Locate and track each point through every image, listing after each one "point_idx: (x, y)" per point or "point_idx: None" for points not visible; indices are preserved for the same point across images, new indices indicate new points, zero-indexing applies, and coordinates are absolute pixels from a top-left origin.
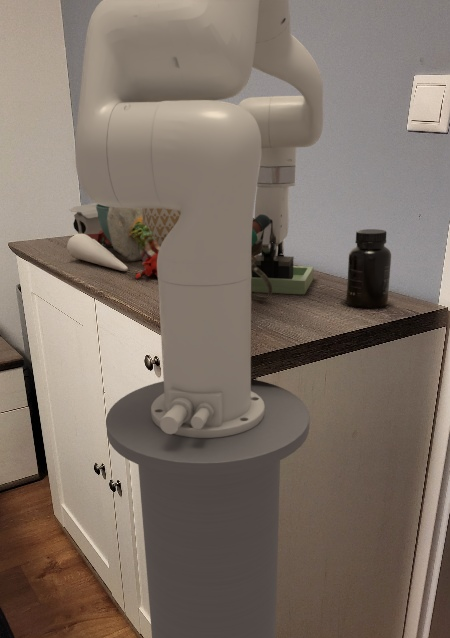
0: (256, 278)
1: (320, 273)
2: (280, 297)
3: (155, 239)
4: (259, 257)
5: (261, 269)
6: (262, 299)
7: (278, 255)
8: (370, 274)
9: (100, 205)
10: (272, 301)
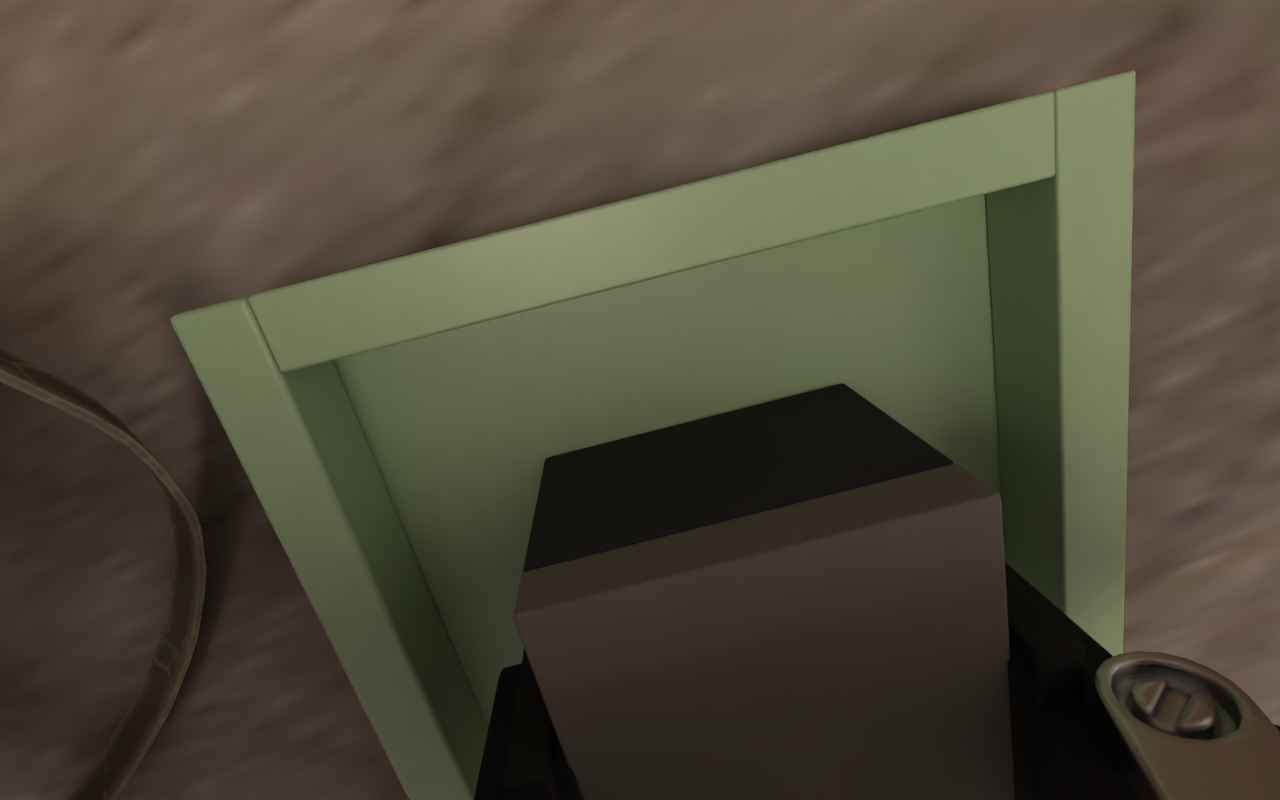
0: (340, 654)
1: (1277, 713)
2: (356, 781)
3: None
4: (821, 611)
5: (526, 677)
6: (101, 763)
7: (1038, 794)
8: None
9: None
10: (203, 785)
